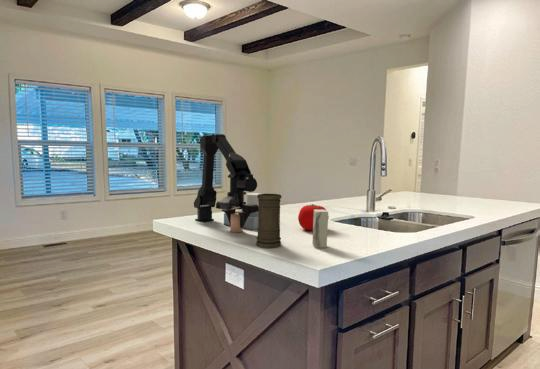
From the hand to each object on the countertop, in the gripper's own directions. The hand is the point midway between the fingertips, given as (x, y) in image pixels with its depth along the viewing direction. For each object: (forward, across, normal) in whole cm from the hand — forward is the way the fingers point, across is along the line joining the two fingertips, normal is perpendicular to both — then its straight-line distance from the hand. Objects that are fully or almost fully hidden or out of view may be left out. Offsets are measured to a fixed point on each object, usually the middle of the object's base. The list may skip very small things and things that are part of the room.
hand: (236, 227), depth 155 cm
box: (+2, +38, +1) cm, 38 cm away
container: (+2, +23, -9) cm, 25 cm away
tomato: (+2, +22, +24) cm, 33 cm away
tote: (+2, -5, +14) cm, 14 cm away
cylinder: (+2, 0, 0) cm, 2 cm away
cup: (+2, -13, +28) cm, 31 cm away
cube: (+1, -9, +13) cm, 16 cm away
